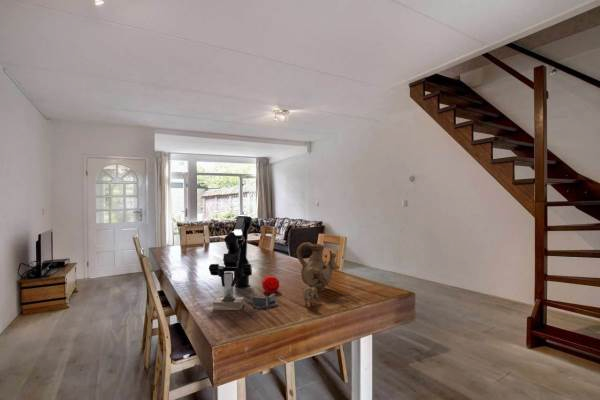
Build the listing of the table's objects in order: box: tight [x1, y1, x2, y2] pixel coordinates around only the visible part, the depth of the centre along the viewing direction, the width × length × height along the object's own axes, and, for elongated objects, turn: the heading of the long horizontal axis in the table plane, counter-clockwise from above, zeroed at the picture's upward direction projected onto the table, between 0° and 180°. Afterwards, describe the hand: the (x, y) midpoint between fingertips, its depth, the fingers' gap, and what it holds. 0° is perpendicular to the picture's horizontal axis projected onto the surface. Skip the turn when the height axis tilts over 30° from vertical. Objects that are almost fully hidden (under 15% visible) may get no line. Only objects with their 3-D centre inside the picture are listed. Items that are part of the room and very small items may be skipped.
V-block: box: [249, 293, 279, 310], centre depth 138 cm, size 10×11×4 cm
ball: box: [261, 275, 280, 294], centre depth 158 cm, size 8×8×8 cm
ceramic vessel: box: [296, 241, 340, 292], centre depth 161 cm, size 18×19×25 cm
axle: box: [223, 272, 234, 302], centre depth 134 cm, size 4×4×12 cm
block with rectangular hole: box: [212, 296, 245, 311], centre depth 134 cm, size 8×12×3 cm, turn 90°
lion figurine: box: [302, 286, 320, 307], centre depth 138 cm, size 15×5×9 cm, turn 165°
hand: (227, 286), depth 133 cm, fingers closed on axle, 4 cm apart
